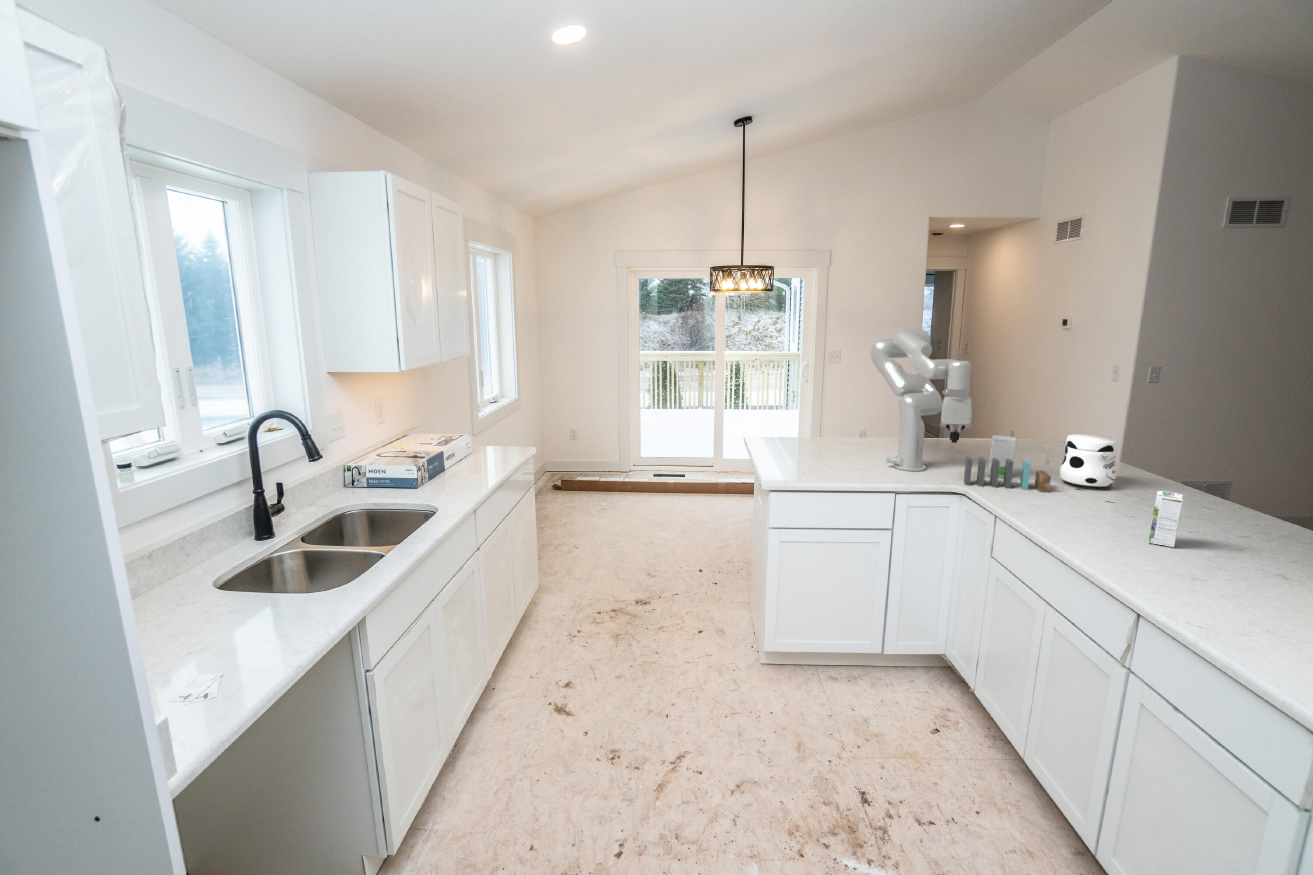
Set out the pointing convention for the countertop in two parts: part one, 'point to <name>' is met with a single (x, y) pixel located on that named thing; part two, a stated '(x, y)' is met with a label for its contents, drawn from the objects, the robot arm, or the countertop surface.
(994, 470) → the tile
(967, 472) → the tile
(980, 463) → the tile
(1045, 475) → the bookend
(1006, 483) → the tile
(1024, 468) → the domino
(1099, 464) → the spotted treat jar
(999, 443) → the skincare box
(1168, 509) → the syrup box
